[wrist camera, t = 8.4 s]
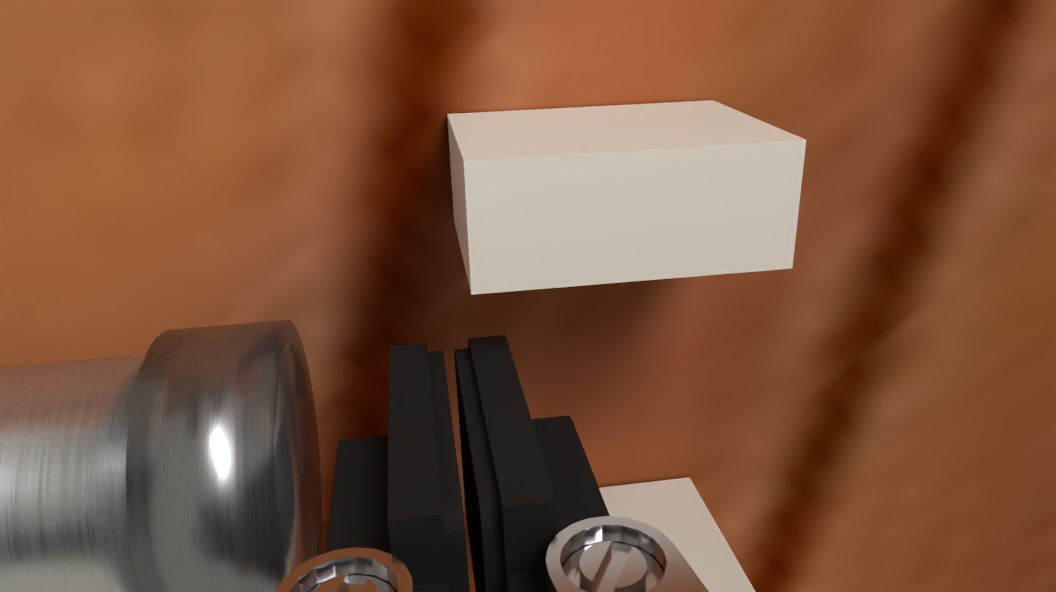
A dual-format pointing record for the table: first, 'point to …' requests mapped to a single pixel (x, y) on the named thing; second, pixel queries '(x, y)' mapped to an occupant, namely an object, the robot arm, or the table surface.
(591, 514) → the robot arm
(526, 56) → the table surface
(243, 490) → the slip tube
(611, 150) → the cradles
